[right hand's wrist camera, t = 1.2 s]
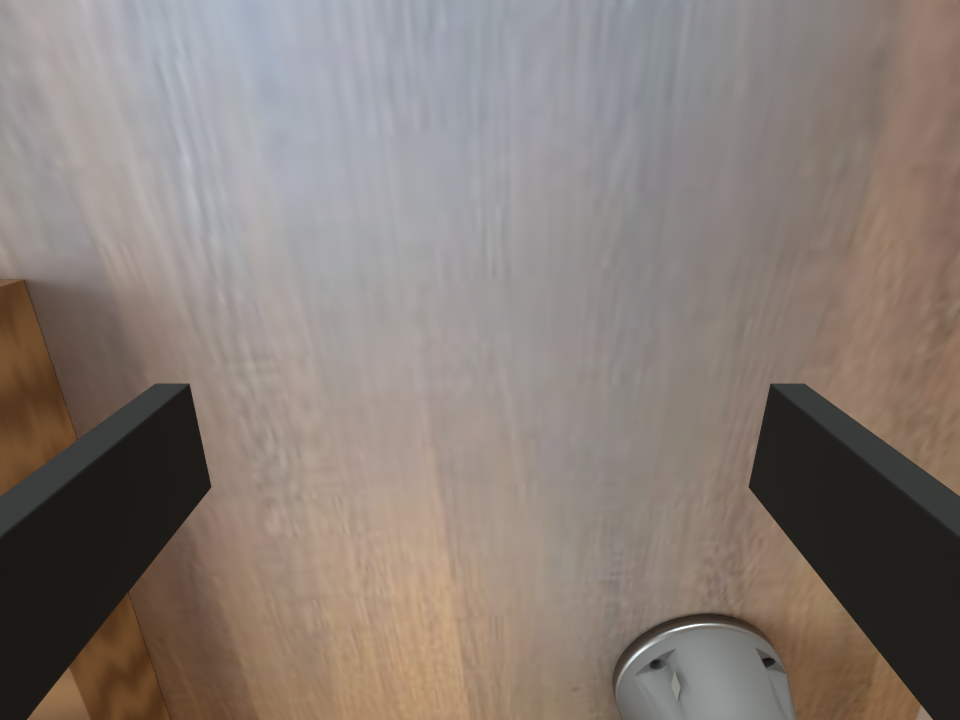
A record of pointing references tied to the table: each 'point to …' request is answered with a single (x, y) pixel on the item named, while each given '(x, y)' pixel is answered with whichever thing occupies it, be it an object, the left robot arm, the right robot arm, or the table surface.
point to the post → (14, 456)
